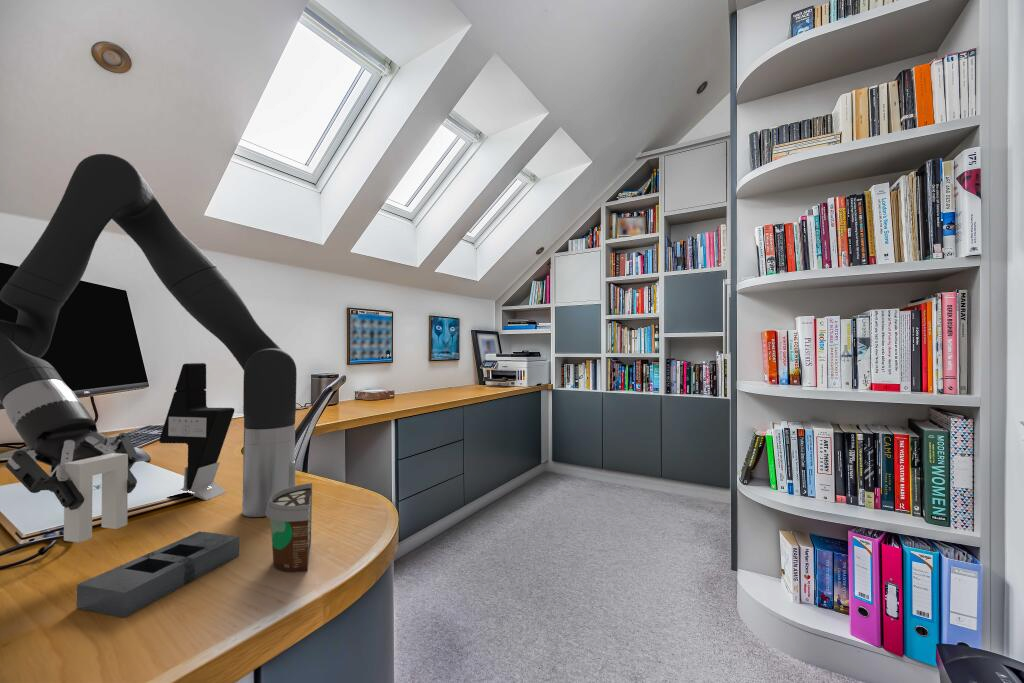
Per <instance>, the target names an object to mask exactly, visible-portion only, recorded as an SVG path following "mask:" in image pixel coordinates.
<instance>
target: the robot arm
mask: <svg viewBox="0 0 1024 683" xmlns="http://www.w3.org/2000/svg"><path fill="white" fill-rule="evenodd" d="M65 188H66V189H65V191H64V193H63V195H62V197H61V200H60V201H59V204H58V206H57V208H56V209H55V211H54V212H53V215H52V217H51V218H50V220H49V222H48V224H47V225H46V227H45V229H44V230H43V232H42V234H41V235H40V237H39V238H38V240H37V241H36V243H35V244H34V246H33V248H32V249H30V252H29V253H28V255H27V256H26V257H25V258H24V259H23V260H22V262H21V264H20V265H19V266H18V268H17V269H16V270H15V271H14V273H13V274H12V275H11V276H10V277H9V279H8V281H7V282H6V283H5V284H4V286H2V289H1V290H0V301H1V302H3V303H4V304H6V305H7V306H9V307H12V308H13V309H16V310H17V317H16V318H17V319H16V322H11V321H7V320H4V319H0V403H1V405H2V407H3V408H4V410H5V413H6V415H7V418H8V419H9V420H10V423H11V424H12V425H13V427H14V429H15V430H16V431H17V433H18V434H19V436H20V437H21V439H22V441H23V442H24V443H25V445H26V447H27V448H28V450H29V451H25V450H23V449H21V450H20V449H18V450H16V451H14V452H13V454H12V455H11V456H10V457H9V459H8V460H7V462H6V463H5V468H6V469H7V470H8V471H9V472H10V473H12V475H13V476H14V477H15V478H16V479H17V480H18V481H19V482H20V483H21V484H22V485H23V487H25V489H27V490H28V491H29V493H32V494H37V493H39V492H41V491H49V492H51V493H53V494H54V495H55V497H56V498H57V500H58V502H59V503H60V504H61V506H62V507H63V508H64V507H65V508H67V507H68V508H69V509H70V510H74V509H78V508H79V507H80V506H81V505H82V503H83V502H84V497H83V495H82V494H81V492H79V491H78V489H77V488H76V486H75V485H74V483H73V482H72V480H70V481H68V479H69V475H68V473H67V472H66V470H65V463H68V462H73V461H78V460H83V459H87V458H92V457H97V456H102V455H107V454H111V453H121V454H128V479H127V493H128V494H131V493H132V492H133V491H134V490H135V488H136V487H137V484H138V480H137V478H136V477H135V476H134V474H133V473H132V470H131V469H132V467H133V466H134V464H135V463H136V462H137V461H138V460H139V456H138V454H137V450H136V449H135V447H134V445H133V442H132V440H131V438H130V437H129V434H128V433H126V432H120V433H119V434H118V435H117V436H109V437H107V436H105V435H104V434H102V433H101V432H99V431H98V428H97V423H96V422H95V420H94V418H93V417H92V416H91V414H90V413H89V411H88V410H87V408H86V407H85V406H84V404H83V403H82V401H81V400H80V399H79V397H78V396H77V394H76V393H75V392H74V391H73V390H72V389H71V388H70V387H69V386H68V385H67V384H66V382H65V381H64V380H63V378H62V377H61V375H60V374H59V373H58V371H57V369H56V368H55V367H54V366H53V365H52V364H51V363H49V362H48V361H46V360H45V359H43V358H42V357H43V356H44V355H45V354H46V353H47V352H48V349H49V348H50V345H51V342H52V338H53V335H54V332H55V328H56V324H57V321H58V318H59V313H60V312H61V309H62V307H63V306H64V305H65V303H66V301H67V300H69V298H70V296H71V294H72V293H73V292H74V290H75V289H76V288H77V286H78V285H79V283H80V282H81V280H82V277H83V276H84V274H85V272H86V270H87V267H88V264H89V262H90V259H91V255H92V253H93V250H94V249H95V248H94V247H95V245H96V242H97V241H98V239H99V237H100V236H101V234H102V233H103V230H104V229H105V227H106V226H107V225H108V224H109V222H111V221H114V222H115V224H117V225H118V226H119V227H120V228H121V229H122V230H123V232H124V233H125V234H127V235H128V236H129V237H130V238H131V239H132V240H133V242H134V243H135V244H137V246H138V247H139V249H140V250H141V251H142V252H143V254H144V256H145V257H146V259H147V261H148V263H149V264H150V266H151V268H152V270H153V272H155V274H156V276H157V277H158V278H159V280H160V281H161V283H162V284H163V286H164V287H165V288H166V290H168V292H169V293H170V294H171V295H172V297H174V298H175V300H176V301H177V302H178V303H179V305H181V307H182V308H184V310H185V311H186V312H187V313H188V314H189V315H190V316H191V317H192V318H194V319H195V320H196V321H197V322H198V323H199V324H200V325H201V326H202V327H204V329H206V330H207V331H208V332H209V333H211V334H212V335H213V336H214V337H215V338H217V340H219V341H220V342H221V343H222V344H223V345H224V346H225V347H226V348H227V349H228V351H229V352H230V353H231V355H232V356H233V357H234V358H235V360H236V361H237V363H238V364H239V365H240V367H241V368H242V370H243V384H242V385H243V394H242V396H243V397H242V398H243V400H242V401H243V406H242V408H243V409H242V410H243V411H242V413H243V452H242V453H243V457H242V459H243V464H242V501H241V502H242V503H241V507H242V509H241V510H242V512H241V513H242V515H243V516H245V517H249V518H260V517H261V518H262V517H267V516H266V514H265V513H266V509H267V505H268V502H269V500H270V498H271V496H272V495H273V494H275V493H276V492H278V491H281V490H283V489H286V488H289V487H293V486H296V461H295V458H296V457H295V455H296V453H295V452H296V450H295V449H296V413H297V376H298V375H297V372H298V371H297V364H296V362H295V360H294V358H293V357H292V356H291V355H290V354H289V353H287V352H286V351H284V350H283V349H282V348H281V347H280V345H278V344H277V343H276V342H274V340H273V339H272V338H271V337H269V335H268V334H267V333H266V332H265V331H264V330H263V329H262V328H261V327H260V326H259V324H258V323H257V321H256V320H255V318H254V317H253V315H252V314H251V312H250V310H249V309H248V307H247V306H246V304H245V302H244V301H243V299H242V298H241V296H240V295H239V293H238V292H237V291H236V289H235V288H234V286H233V285H232V284H231V283H230V281H229V279H228V278H227V277H226V276H225V275H224V274H223V272H222V271H221V270H220V269H219V268H218V267H217V265H216V264H215V263H214V262H213V261H212V260H211V259H210V257H209V256H207V254H206V253H204V252H203V250H202V249H200V247H198V245H196V244H195V243H194V242H193V241H192V240H191V239H189V238H188V237H187V236H186V235H185V234H184V233H183V232H182V231H181V230H180V228H178V227H177V225H176V224H175V223H174V222H173V220H172V218H170V216H169V214H168V213H167V212H166V210H165V209H164V208H163V207H164V206H162V205H161V202H160V201H159V200H158V198H157V197H156V195H155V193H154V192H153V189H152V188H151V186H150V185H149V183H148V182H147V180H146V179H145V178H144V177H143V175H142V173H141V172H140V171H139V169H137V168H136V167H135V166H134V165H133V164H132V163H131V162H129V161H128V160H126V159H125V158H122V157H120V156H118V155H114V154H110V153H109V154H108V153H96V154H93V155H89V156H87V157H85V158H83V159H82V160H81V161H80V162H78V164H77V165H76V167H75V169H74V171H73V173H72V174H71V177H70V178H69V181H68V184H67V186H66V187H65ZM38 462H39V463H43V464H45V465H47V466H50V467H49V472H48V473H49V474H48V473H47V472H46V471H45V470H44V469H43V468H42V467H41V466H40V465H39V463H38Z"/></svg>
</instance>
